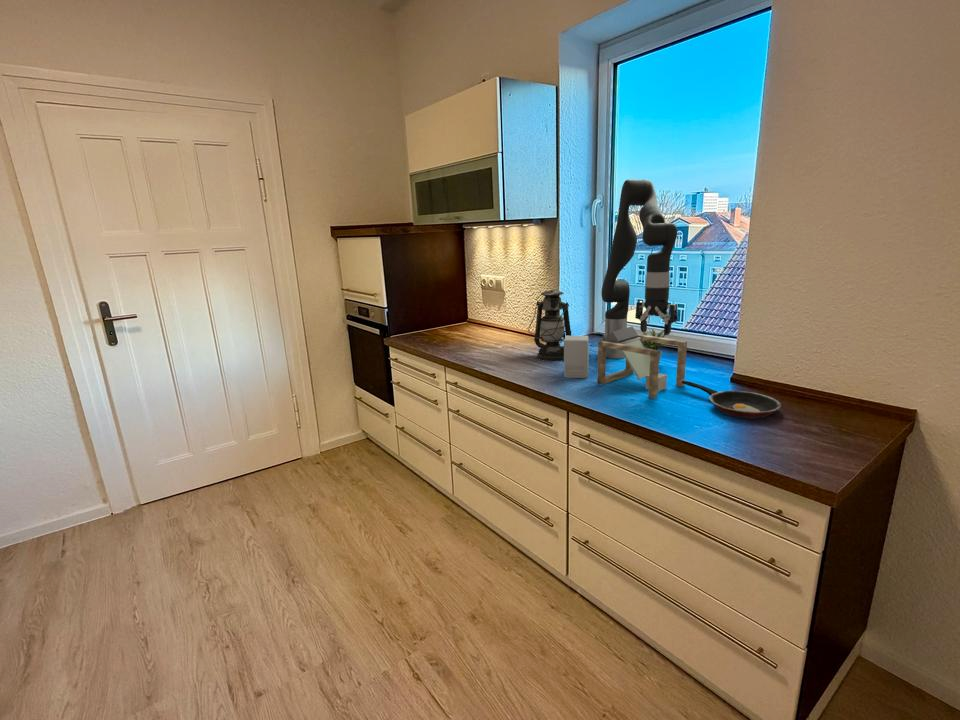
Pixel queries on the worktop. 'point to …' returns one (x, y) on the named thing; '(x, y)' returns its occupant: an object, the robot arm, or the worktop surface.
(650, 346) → the house plant
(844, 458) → the worktop surface
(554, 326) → the lantern
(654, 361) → the frame
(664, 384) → the cube
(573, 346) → the supplement box
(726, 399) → the frying pan
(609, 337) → the trapdoor
